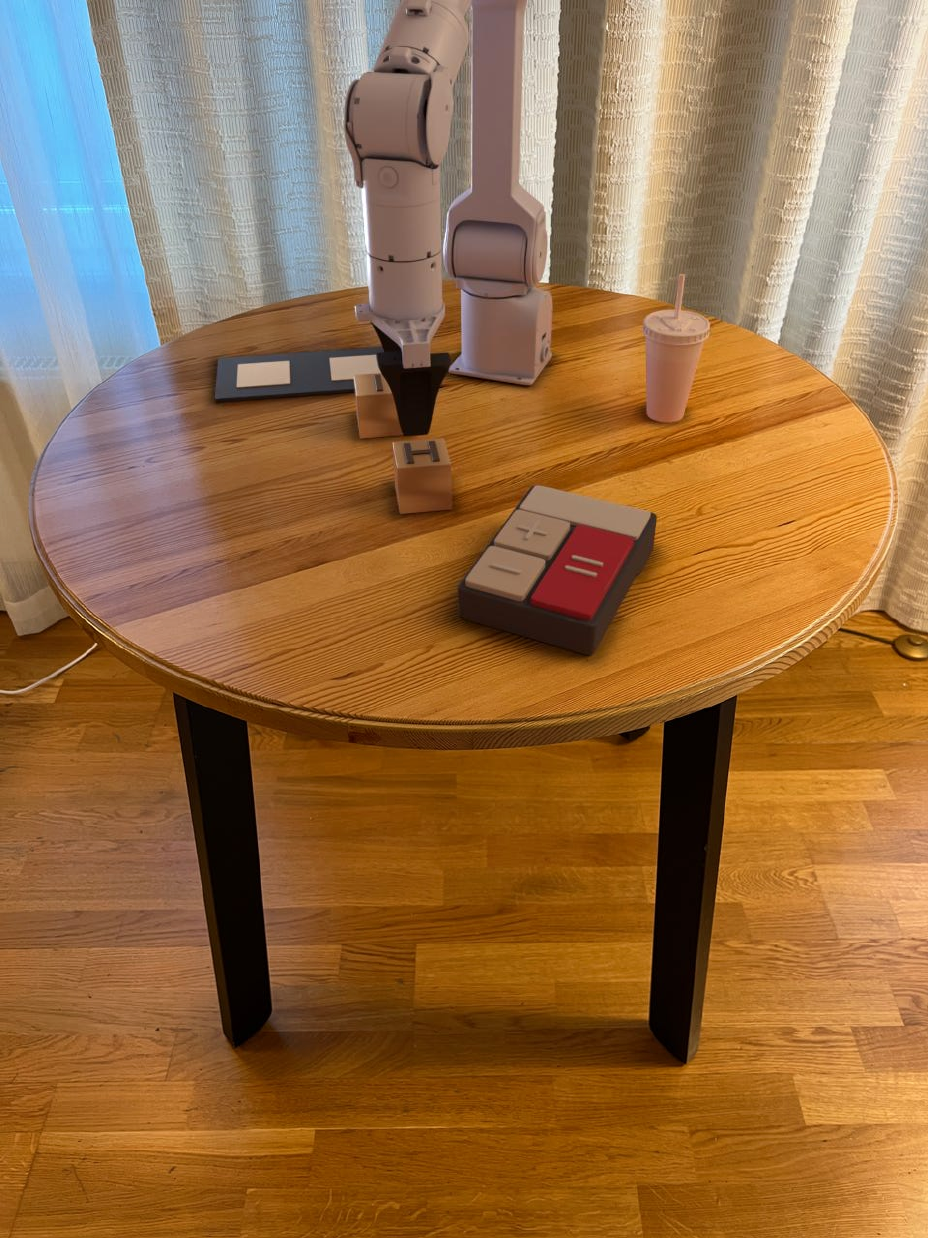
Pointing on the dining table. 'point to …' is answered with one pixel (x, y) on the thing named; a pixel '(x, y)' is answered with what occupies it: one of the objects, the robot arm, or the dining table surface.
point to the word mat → (293, 374)
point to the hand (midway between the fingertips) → (410, 411)
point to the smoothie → (672, 358)
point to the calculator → (558, 568)
